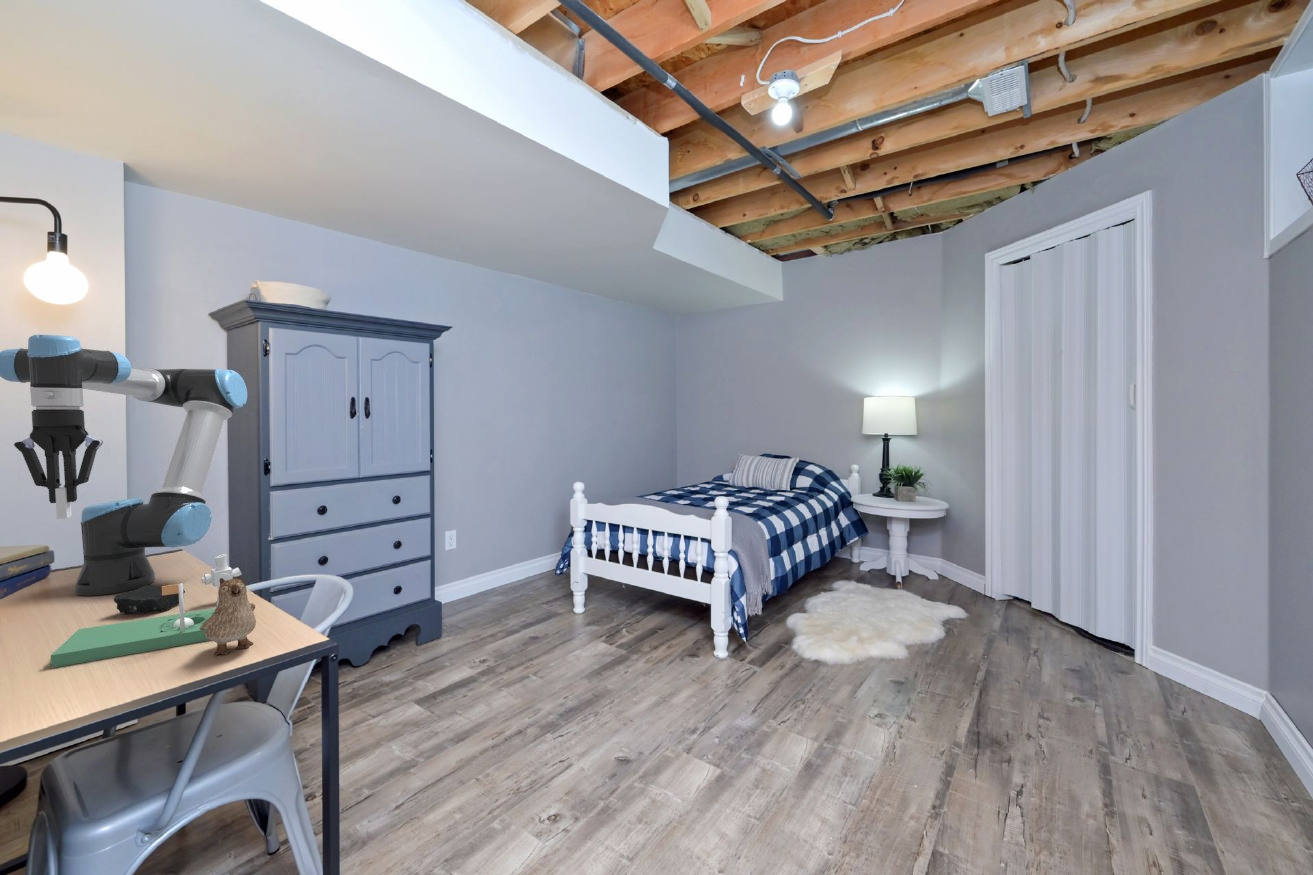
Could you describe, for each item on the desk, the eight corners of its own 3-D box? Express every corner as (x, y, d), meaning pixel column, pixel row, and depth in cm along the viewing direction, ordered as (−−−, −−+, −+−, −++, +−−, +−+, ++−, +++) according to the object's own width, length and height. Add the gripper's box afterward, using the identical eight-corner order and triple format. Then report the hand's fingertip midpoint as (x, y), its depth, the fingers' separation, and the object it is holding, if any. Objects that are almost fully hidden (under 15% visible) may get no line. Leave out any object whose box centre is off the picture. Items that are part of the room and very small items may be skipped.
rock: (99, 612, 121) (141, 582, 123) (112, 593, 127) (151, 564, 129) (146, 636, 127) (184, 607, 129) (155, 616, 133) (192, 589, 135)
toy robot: (244, 600, 135) (242, 553, 134) (204, 608, 129) (202, 559, 129) (240, 596, 138) (239, 550, 137) (201, 604, 132) (199, 556, 131)
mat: (79, 640, 112) (76, 581, 111) (226, 616, 124) (224, 563, 124) (51, 668, 100) (47, 602, 99) (217, 638, 113) (214, 580, 112)
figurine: (212, 665, 101) (208, 586, 100) (191, 653, 106) (188, 578, 105) (267, 647, 109) (264, 574, 108) (245, 636, 114) (243, 566, 113)
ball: (169, 623, 115) (186, 611, 116) (182, 634, 116) (199, 622, 118) (165, 629, 112) (183, 617, 114) (179, 640, 113) (196, 628, 115)
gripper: (4, 408, 109) (11, 524, 110) (94, 408, 116) (100, 517, 117) (21, 408, 115) (28, 517, 116) (106, 408, 122) (111, 511, 123)
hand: (64, 517), depth 117 cm, fingers closed
